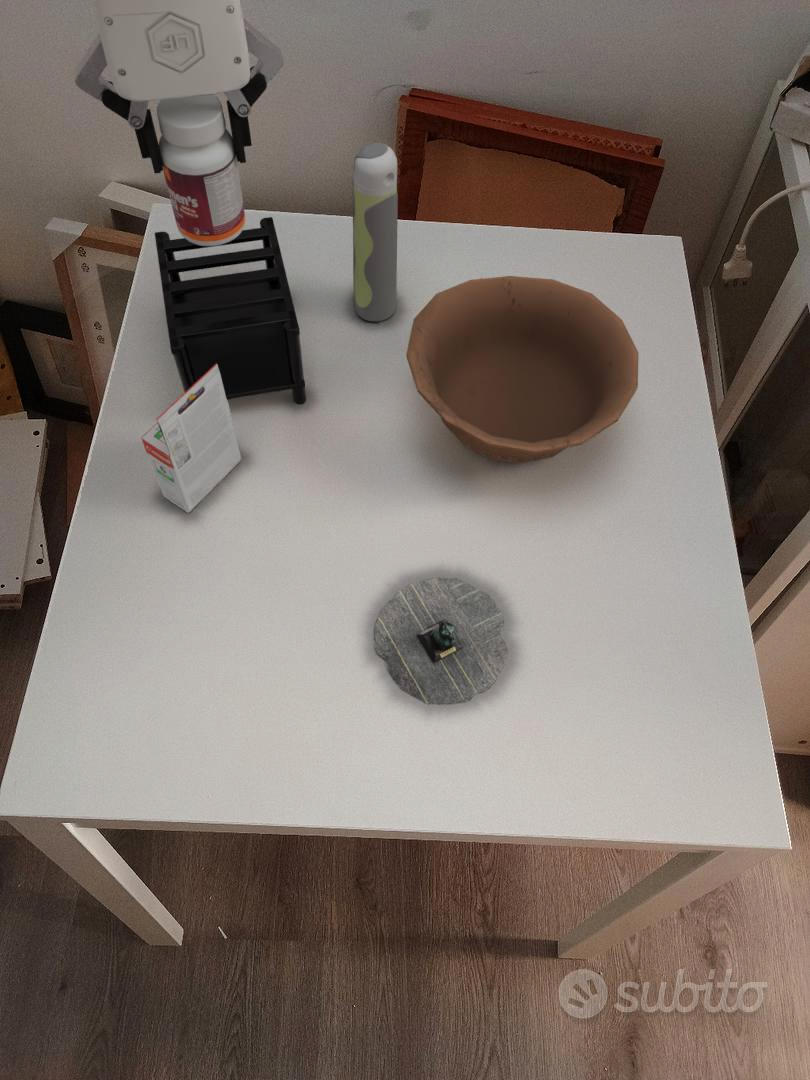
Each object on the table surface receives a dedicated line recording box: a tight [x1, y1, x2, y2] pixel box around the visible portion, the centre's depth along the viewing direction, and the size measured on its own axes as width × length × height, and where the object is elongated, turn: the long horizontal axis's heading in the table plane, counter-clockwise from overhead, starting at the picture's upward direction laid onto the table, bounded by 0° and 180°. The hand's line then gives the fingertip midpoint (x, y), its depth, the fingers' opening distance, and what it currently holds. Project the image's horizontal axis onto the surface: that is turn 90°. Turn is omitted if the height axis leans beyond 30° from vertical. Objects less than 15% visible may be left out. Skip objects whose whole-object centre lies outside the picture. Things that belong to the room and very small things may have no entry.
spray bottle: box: [352, 142, 399, 323], centre depth 86 cm, size 5×5×20 cm
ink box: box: [140, 364, 242, 514], centre depth 76 cm, size 4×8×15 cm, turn 145°
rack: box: [154, 216, 307, 406], centre depth 85 cm, size 12×16×11 cm
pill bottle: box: [156, 94, 246, 247], centre depth 70 cm, size 6×6×11 cm
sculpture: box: [374, 577, 509, 705], centre depth 74 cm, size 12×9×8 cm
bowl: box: [406, 275, 639, 464], centre depth 82 cm, size 22×22×11 cm
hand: (198, 156), depth 69 cm, fingers closed on pill bottle, 6 cm apart
